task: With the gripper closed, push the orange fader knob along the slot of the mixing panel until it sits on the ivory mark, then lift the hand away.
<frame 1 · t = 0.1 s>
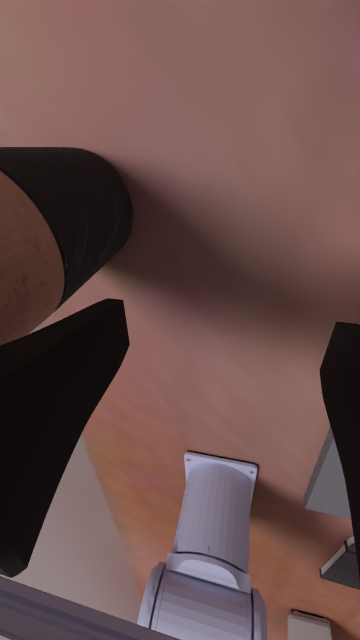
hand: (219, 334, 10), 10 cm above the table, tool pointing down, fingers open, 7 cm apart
travel mug: (85, 207, 19), on the table
stereo radio cassette player: (308, 626, 56), on the table
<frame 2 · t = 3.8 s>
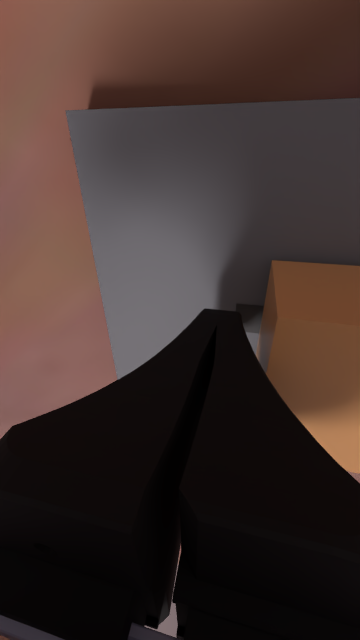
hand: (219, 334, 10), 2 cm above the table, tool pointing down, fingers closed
fader knob: (329, 364, 8), point 3 cm above the table, slide at 1.5 cm, touching gripper
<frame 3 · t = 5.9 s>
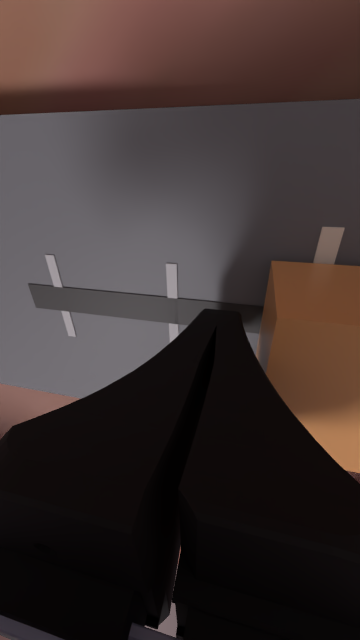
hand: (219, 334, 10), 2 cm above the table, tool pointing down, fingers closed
fader panel: (169, 295, 12), on the table
fader knob: (329, 364, 8), point 3 cm above the table, slide at 10.4 cm, touching gripper
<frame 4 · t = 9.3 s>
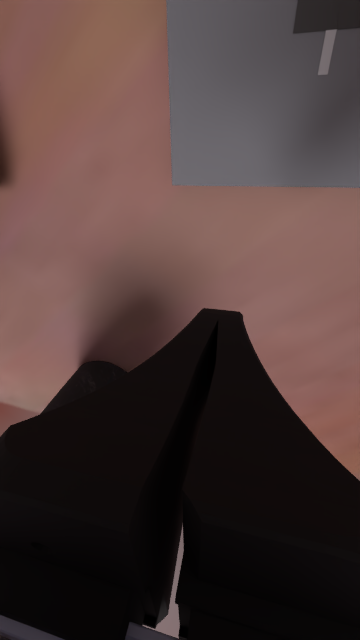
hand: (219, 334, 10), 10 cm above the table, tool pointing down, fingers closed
travel mug: (108, 385, 30), on the table
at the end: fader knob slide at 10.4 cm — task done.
